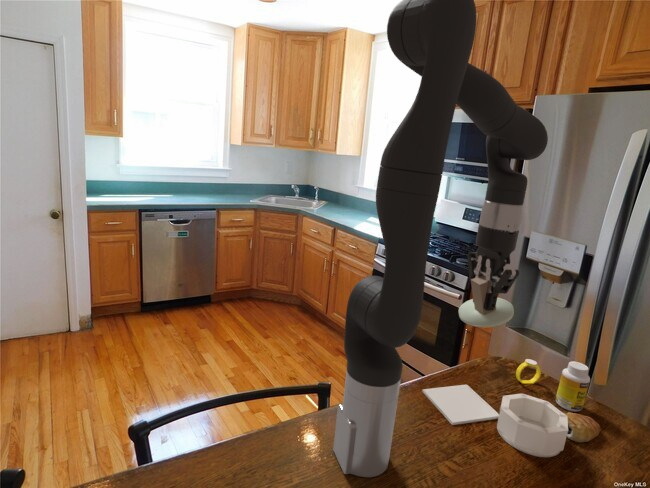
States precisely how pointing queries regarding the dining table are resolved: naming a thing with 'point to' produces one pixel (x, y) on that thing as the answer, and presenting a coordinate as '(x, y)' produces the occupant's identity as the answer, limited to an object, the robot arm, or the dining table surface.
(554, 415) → the bowl
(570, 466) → the dining table surface
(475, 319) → the lid
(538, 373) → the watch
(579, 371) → the supplement bottle
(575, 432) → the pastry
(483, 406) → the mat
